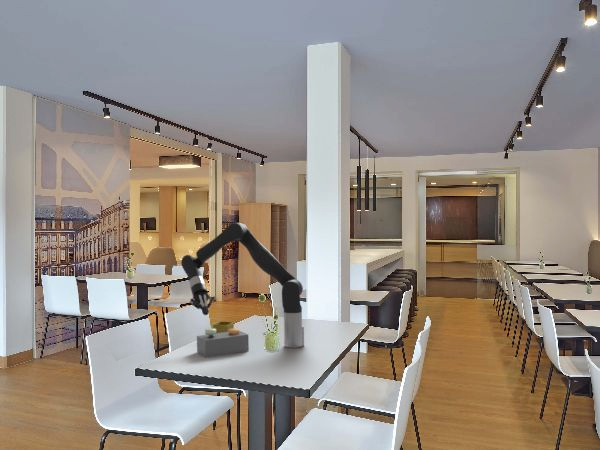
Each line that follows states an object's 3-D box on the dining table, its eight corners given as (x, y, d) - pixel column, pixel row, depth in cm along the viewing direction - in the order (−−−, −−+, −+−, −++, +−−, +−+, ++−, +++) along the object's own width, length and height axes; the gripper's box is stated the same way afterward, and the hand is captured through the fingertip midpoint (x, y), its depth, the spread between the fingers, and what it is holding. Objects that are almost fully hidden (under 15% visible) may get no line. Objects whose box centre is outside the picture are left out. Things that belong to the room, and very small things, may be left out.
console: (238, 346, 245) (238, 330, 245) (248, 350, 235) (248, 334, 235) (197, 352, 234) (196, 336, 234) (205, 357, 223) (205, 340, 223)
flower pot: (227, 342, 254) (227, 325, 254) (212, 341, 257) (212, 324, 257) (234, 338, 263) (234, 322, 263) (220, 337, 265) (220, 321, 265)
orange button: (236, 336, 241) (236, 327, 241) (241, 338, 236) (240, 329, 236) (227, 338, 238) (227, 329, 238) (231, 340, 234) (231, 331, 234)
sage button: (214, 337, 235) (214, 328, 235) (218, 339, 230) (217, 329, 230) (203, 338, 232) (203, 329, 232) (207, 340, 228) (207, 331, 228)
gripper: (186, 283, 241) (194, 310, 231) (212, 281, 248) (220, 308, 237) (184, 292, 246) (191, 320, 235) (208, 290, 253) (217, 317, 242)
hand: (206, 314), depth 236 cm, fingers closed
